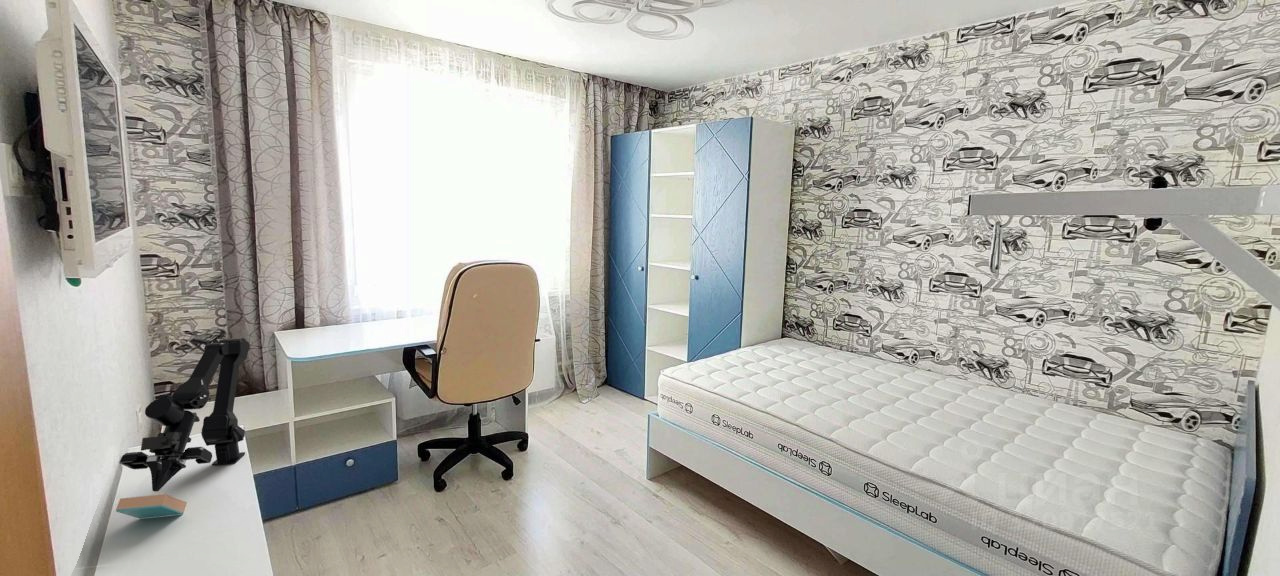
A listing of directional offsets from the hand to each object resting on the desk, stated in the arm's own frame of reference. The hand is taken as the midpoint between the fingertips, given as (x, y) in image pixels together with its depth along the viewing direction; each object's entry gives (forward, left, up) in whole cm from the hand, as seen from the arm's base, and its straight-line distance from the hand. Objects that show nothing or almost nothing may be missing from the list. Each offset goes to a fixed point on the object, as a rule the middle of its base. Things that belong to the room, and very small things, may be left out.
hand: (155, 491), depth 137 cm
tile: (-1, 0, -6) cm, 7 cm away
